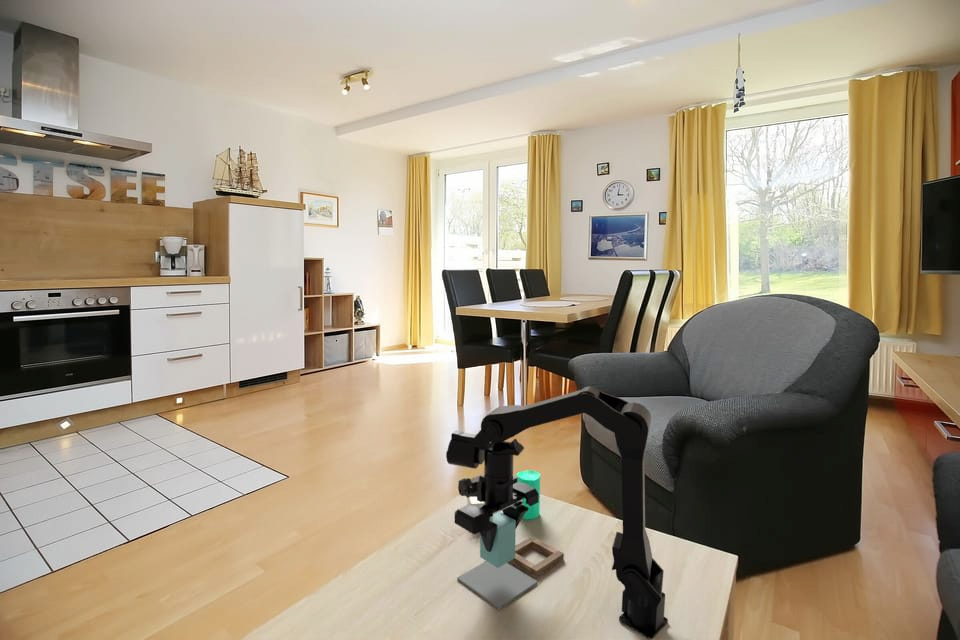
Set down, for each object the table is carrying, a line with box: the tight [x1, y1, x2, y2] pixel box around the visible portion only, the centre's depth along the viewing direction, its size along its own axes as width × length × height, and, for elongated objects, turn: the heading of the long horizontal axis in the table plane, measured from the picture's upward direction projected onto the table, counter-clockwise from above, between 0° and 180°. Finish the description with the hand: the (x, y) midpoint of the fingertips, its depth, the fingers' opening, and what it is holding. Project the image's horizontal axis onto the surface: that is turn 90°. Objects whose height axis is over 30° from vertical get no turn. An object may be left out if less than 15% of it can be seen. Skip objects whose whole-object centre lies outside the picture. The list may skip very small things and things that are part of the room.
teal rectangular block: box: [479, 511, 517, 568], centre depth 101 cm, size 5×5×8 cm
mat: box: [457, 560, 538, 610], centre depth 102 cm, size 12×11×1 cm
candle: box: [516, 468, 541, 520], centre depth 129 cm, size 6×6×12 cm
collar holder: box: [508, 535, 565, 578], centre depth 110 cm, size 9×9×2 cm
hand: (497, 545), depth 101 cm, fingers closed on teal rectangular block, 5 cm apart
